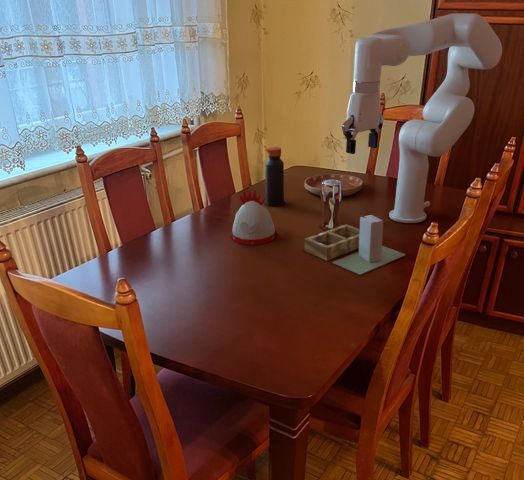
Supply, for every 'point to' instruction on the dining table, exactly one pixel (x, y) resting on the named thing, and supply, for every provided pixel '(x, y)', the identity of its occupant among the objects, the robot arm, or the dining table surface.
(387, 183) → the dining table surface
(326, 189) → the beer glass
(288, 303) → the dining table surface
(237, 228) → the kitchen timer
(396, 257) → the placemat
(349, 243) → the rack
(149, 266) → the dining table surface
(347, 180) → the shallow brown bowl
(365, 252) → the cosmetic box
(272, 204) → the bottle
